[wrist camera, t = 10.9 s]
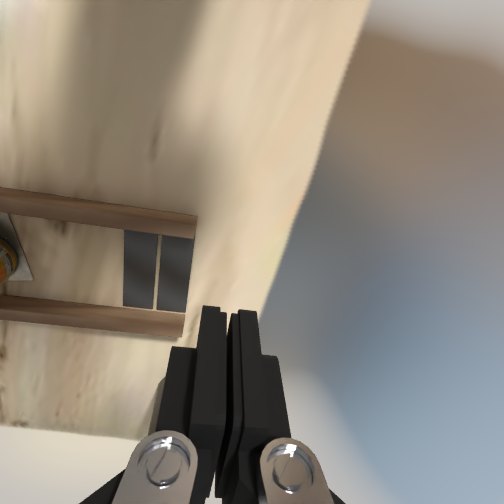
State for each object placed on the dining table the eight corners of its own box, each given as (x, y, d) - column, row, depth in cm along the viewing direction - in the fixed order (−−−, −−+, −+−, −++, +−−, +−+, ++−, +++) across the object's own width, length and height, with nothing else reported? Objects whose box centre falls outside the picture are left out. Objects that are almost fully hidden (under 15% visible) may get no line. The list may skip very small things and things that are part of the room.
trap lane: (-117, 170, 34) (-146, 179, 31) (197, 216, 38) (195, 228, 35) (-78, 296, 41) (-99, 312, 38) (184, 323, 45) (181, 340, 42)
